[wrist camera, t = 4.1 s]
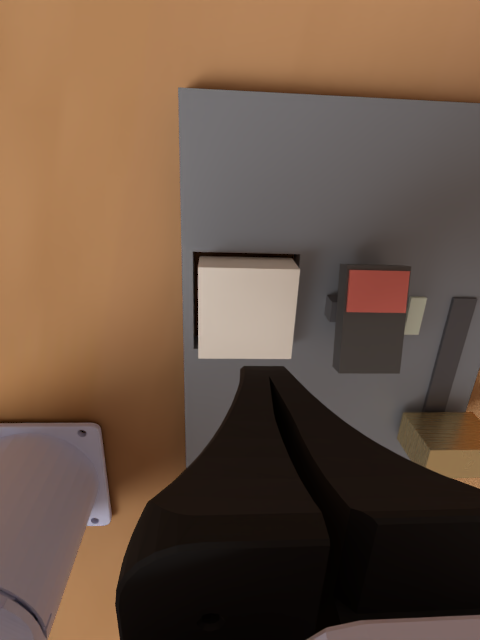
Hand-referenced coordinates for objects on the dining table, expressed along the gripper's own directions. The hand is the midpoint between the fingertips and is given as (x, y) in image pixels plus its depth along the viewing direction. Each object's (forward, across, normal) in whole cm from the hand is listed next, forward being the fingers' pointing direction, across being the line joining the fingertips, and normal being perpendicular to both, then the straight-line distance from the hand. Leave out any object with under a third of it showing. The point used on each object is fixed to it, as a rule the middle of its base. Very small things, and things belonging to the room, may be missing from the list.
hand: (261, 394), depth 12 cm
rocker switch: (+6, -6, 0) cm, 8 cm away
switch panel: (+9, -5, +2) cm, 11 cm away
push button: (+8, 0, 0) cm, 8 cm away
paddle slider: (+7, -11, +7) cm, 15 cm away
